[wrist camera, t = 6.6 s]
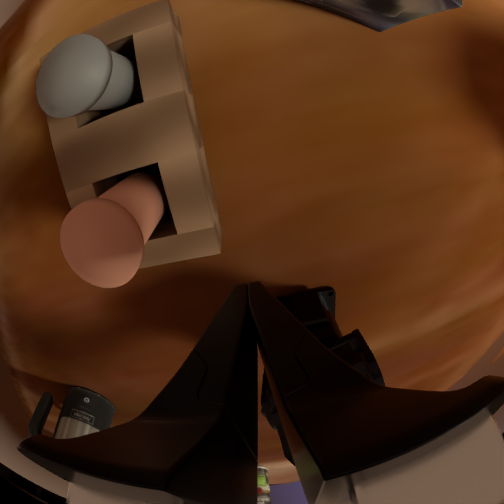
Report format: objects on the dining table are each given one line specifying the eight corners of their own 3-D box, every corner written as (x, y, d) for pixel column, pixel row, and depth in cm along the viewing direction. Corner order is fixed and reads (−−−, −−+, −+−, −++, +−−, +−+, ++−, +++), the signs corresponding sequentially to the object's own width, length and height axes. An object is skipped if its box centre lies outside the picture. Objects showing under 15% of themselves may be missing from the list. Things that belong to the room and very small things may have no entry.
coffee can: (238, 464, 51) (241, 511, 39) (274, 465, 54) (280, 509, 42) (223, 472, 56) (225, 514, 43) (257, 474, 58) (261, 513, 46)
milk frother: (107, 392, 33) (87, 473, 20) (131, 431, 41) (122, 494, 28) (40, 373, 32) (14, 440, 19) (72, 416, 39) (57, 472, 26)
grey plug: (156, 102, 17) (112, 96, 10) (103, 121, 17) (42, 131, 10) (147, 49, 14) (102, 19, 7) (94, 71, 14) (33, 60, 7)
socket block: (222, 229, 22) (220, 253, 19) (115, 252, 22) (99, 276, 19) (178, 17, 13) (167, -2, 10) (66, 63, 14) (39, 58, 10)
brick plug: (179, 219, 20) (153, 281, 13) (126, 232, 20) (82, 292, 13) (163, 160, 17) (120, 191, 10) (108, 177, 17) (48, 216, 10)
